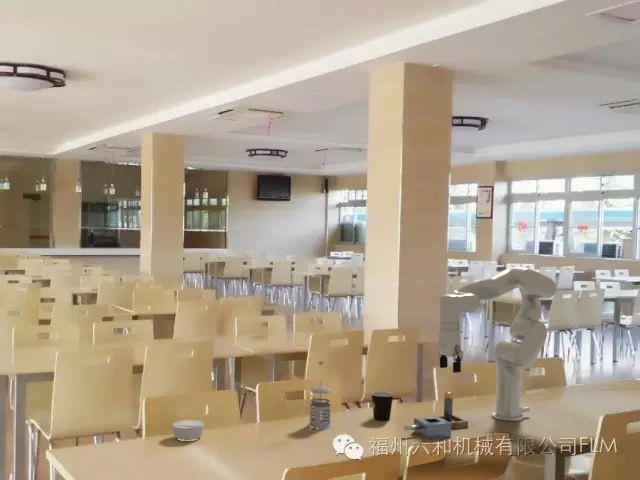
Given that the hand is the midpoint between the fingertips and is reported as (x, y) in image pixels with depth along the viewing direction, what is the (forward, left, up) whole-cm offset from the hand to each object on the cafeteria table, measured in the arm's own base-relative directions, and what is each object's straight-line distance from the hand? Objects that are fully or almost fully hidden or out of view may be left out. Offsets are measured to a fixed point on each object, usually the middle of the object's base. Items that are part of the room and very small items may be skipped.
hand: (450, 369), depth 277 cm
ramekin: (+100, -12, -22) cm, 103 cm away
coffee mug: (+21, -17, -22) cm, 34 cm away
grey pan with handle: (+16, +9, -22) cm, 28 cm away
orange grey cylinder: (+1, 0, -21) cm, 21 cm away
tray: (+1, 0, -22) cm, 22 cm away
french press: (+50, -13, -22) cm, 56 cm away
